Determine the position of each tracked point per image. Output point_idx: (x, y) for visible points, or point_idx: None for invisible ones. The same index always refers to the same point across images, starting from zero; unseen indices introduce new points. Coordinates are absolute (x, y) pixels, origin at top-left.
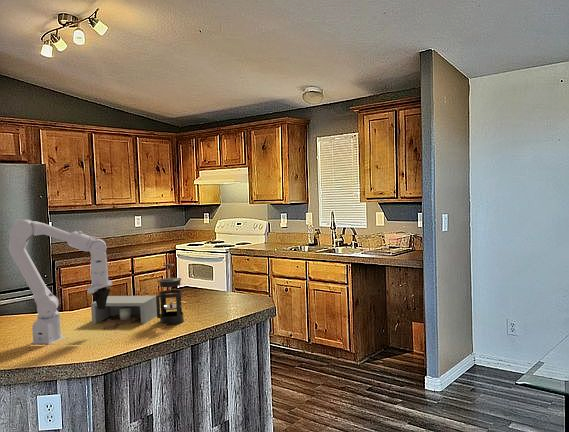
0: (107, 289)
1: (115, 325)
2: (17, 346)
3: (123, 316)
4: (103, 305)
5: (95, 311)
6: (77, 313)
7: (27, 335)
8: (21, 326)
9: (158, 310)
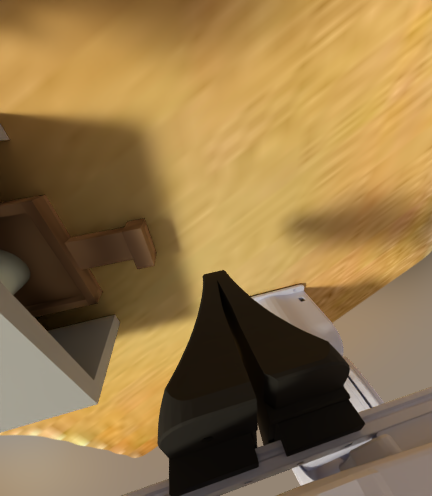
0: (254, 405)
1: (130, 226)
2: None
3: (11, 272)
4: (233, 281)
5: (100, 357)
6: None
7: None
8: None
9: None
